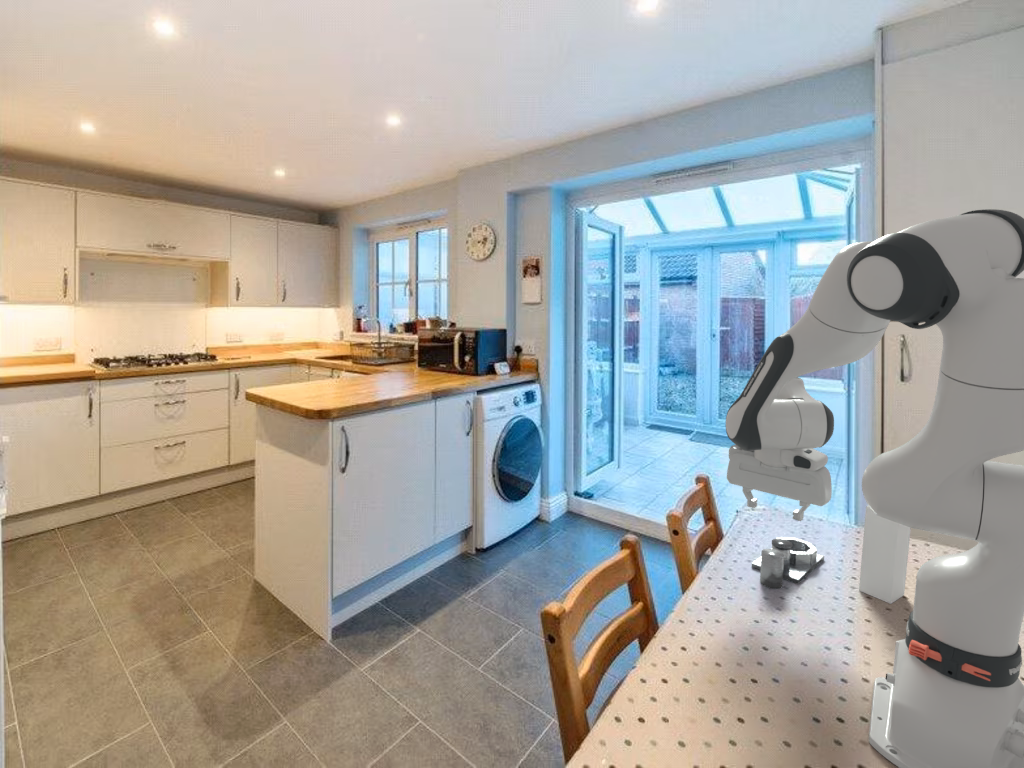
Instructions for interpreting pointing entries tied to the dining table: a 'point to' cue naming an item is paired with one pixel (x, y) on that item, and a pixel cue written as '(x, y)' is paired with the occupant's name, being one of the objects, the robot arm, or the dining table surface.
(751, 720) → the dining table surface
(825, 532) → the dining table surface
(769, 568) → the grey cylindrical peg
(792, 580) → the flange
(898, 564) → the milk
